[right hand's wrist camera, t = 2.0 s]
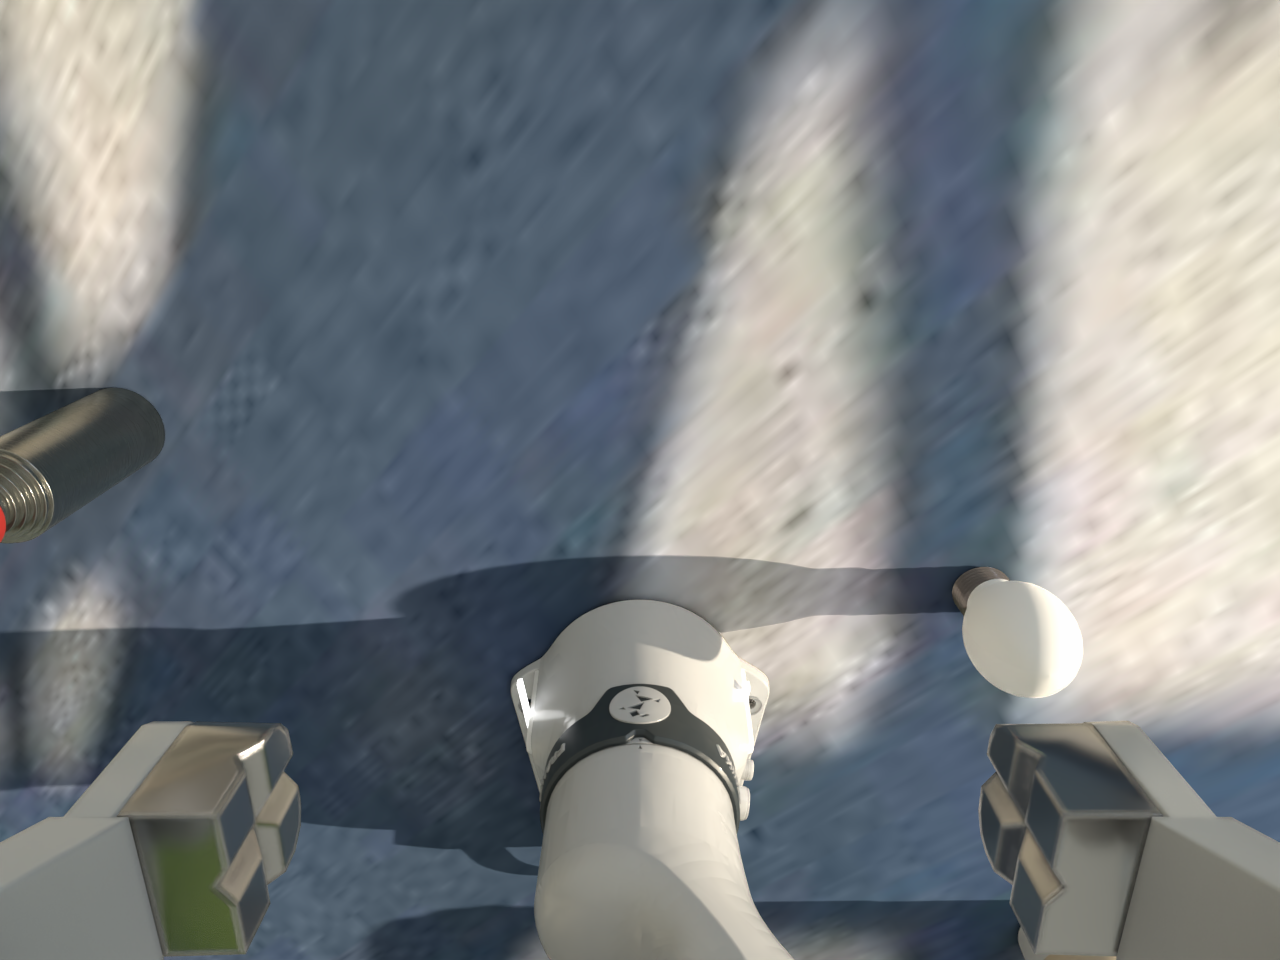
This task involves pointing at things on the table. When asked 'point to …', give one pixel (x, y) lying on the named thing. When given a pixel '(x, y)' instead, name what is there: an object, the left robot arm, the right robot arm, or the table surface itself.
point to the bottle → (73, 458)
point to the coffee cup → (1029, 955)
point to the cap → (2, 524)
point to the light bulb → (1017, 633)
